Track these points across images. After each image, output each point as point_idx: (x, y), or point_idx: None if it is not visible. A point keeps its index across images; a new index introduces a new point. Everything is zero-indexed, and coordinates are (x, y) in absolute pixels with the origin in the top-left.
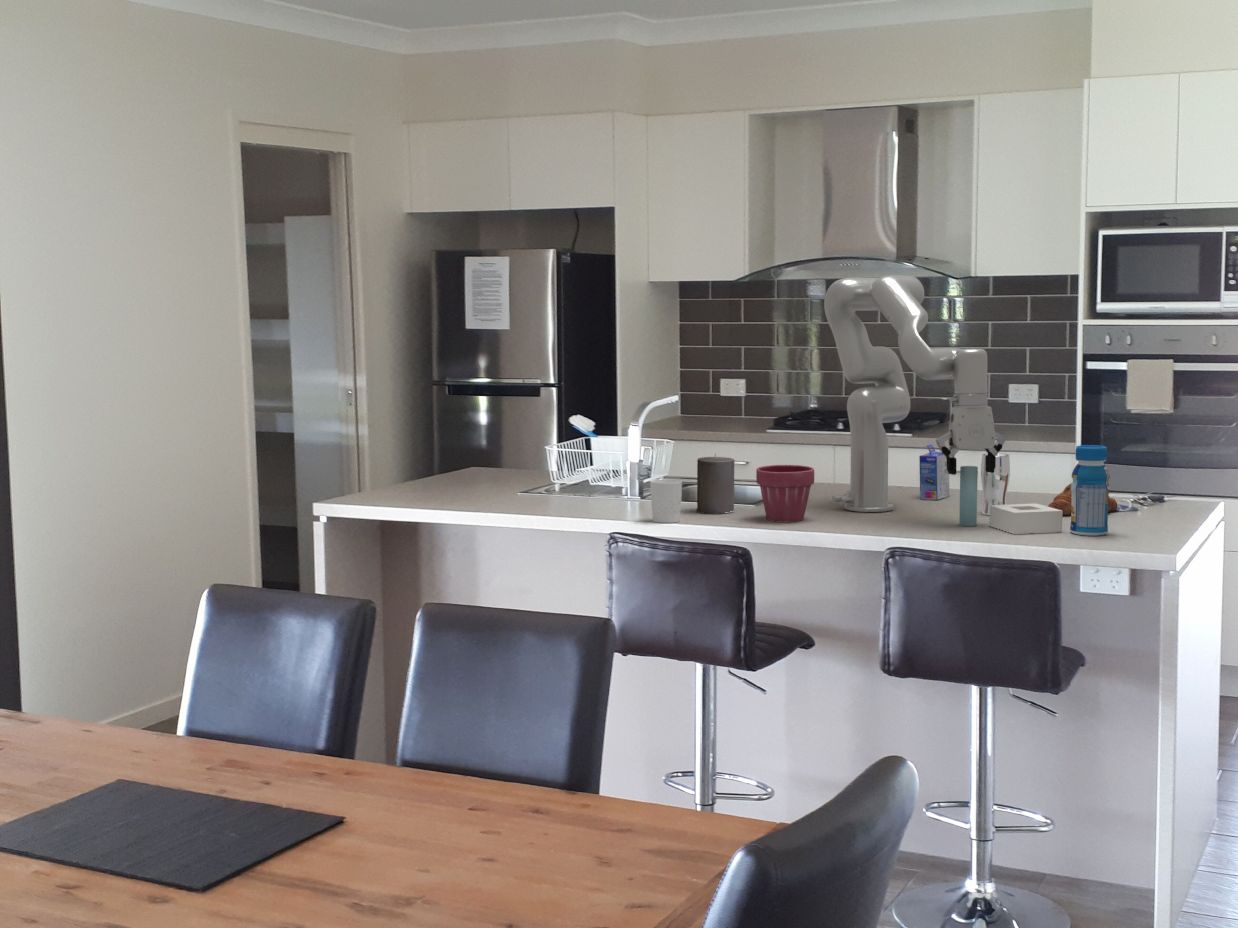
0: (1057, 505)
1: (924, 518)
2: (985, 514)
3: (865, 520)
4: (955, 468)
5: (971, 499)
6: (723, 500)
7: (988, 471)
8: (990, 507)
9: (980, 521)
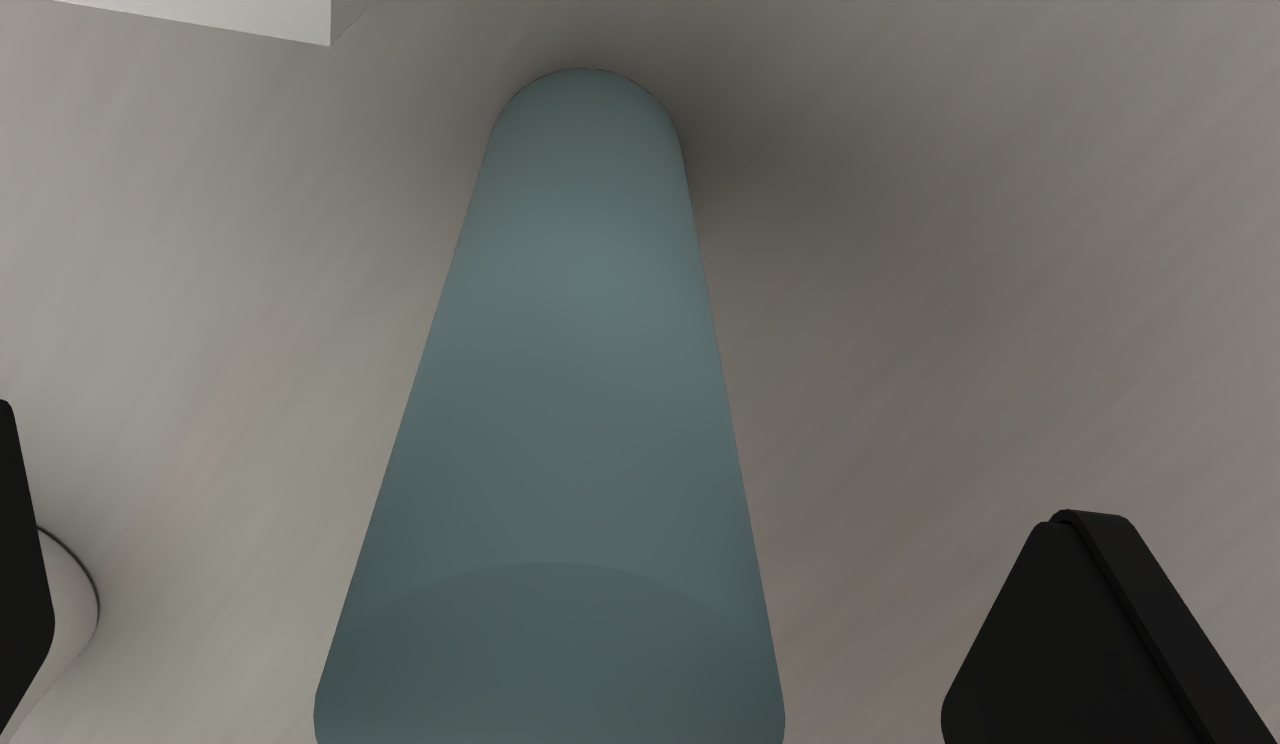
0: None
1: None
2: (88, 578)
3: None
4: (1151, 612)
5: (610, 194)
6: None
7: (30, 528)
8: (337, 12)
9: (316, 312)
